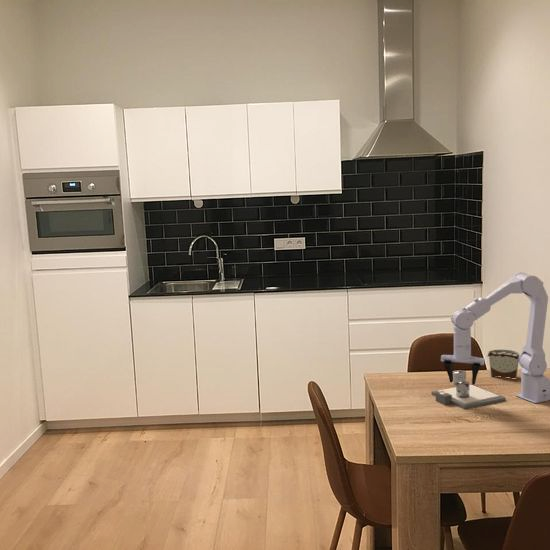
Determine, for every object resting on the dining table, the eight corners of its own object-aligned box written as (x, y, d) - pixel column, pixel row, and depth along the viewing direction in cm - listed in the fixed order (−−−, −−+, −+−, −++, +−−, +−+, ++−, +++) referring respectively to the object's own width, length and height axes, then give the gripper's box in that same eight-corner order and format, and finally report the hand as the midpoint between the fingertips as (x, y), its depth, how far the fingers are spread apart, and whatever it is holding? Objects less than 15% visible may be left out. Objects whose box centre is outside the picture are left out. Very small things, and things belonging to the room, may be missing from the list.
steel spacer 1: (468, 385, 237) (468, 371, 236) (459, 386, 235) (459, 373, 234) (460, 382, 241) (460, 369, 240) (451, 384, 239) (451, 371, 238)
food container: (523, 375, 245) (523, 351, 244) (520, 380, 240) (520, 354, 239) (491, 372, 252) (491, 348, 251) (487, 376, 247) (487, 351, 245)
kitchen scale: (505, 400, 218) (505, 391, 218) (456, 410, 210) (456, 401, 210) (471, 386, 235) (471, 378, 234) (424, 395, 227) (424, 386, 227)
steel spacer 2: (470, 394, 221) (470, 381, 220) (468, 398, 217) (468, 384, 216) (457, 393, 223) (457, 379, 222) (454, 397, 219) (454, 383, 218)
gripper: (486, 343, 217) (486, 381, 219) (444, 340, 224) (444, 377, 226) (482, 348, 211) (482, 387, 213) (439, 345, 218) (439, 382, 220)
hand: (462, 382), depth 219 cm, fingers open, 7 cm apart
